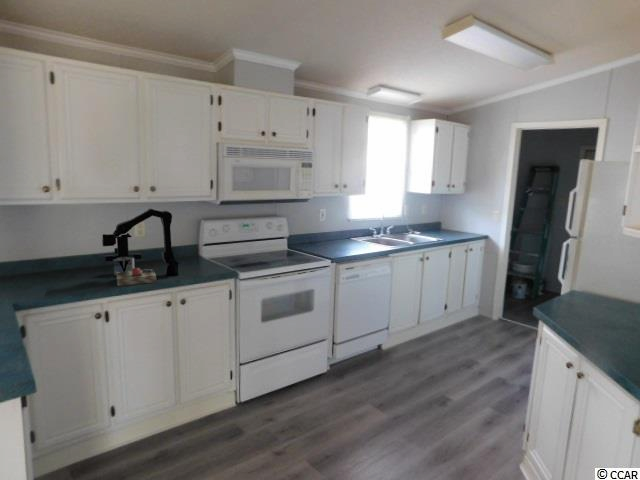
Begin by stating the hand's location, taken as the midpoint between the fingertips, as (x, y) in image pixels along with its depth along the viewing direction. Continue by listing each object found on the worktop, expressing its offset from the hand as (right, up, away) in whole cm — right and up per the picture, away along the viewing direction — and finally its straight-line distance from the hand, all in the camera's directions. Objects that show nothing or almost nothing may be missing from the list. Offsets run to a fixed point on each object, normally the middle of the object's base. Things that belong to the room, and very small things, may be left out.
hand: (124, 271), depth 235 cm
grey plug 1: (0, -4, +1) cm, 5 cm away
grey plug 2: (+10, -4, +6) cm, 13 cm away
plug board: (+7, -5, 0) cm, 9 cm away
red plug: (+9, -2, -4) cm, 10 cm away
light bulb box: (-7, -3, +15) cm, 17 cm away
